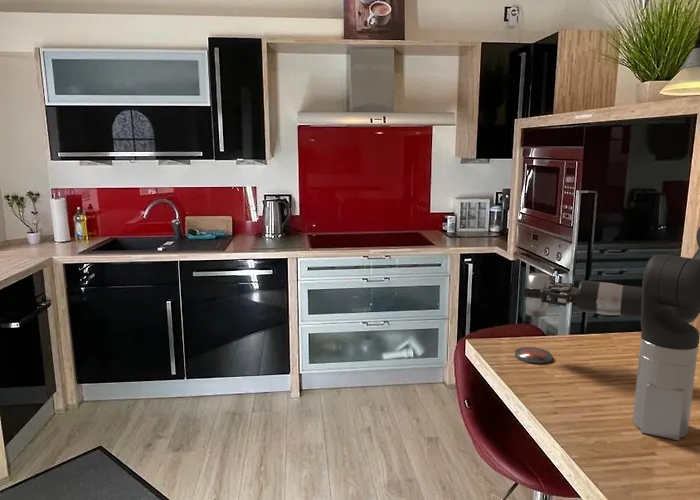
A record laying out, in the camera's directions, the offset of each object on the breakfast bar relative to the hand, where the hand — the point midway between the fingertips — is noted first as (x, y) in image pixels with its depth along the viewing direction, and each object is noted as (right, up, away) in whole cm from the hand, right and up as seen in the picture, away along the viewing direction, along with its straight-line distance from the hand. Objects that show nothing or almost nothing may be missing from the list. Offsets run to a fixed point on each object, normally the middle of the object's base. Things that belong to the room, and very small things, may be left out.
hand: (527, 289), depth 134 cm
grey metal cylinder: (+2, -6, 0) cm, 7 cm away
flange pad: (+2, -18, +2) cm, 18 cm away
